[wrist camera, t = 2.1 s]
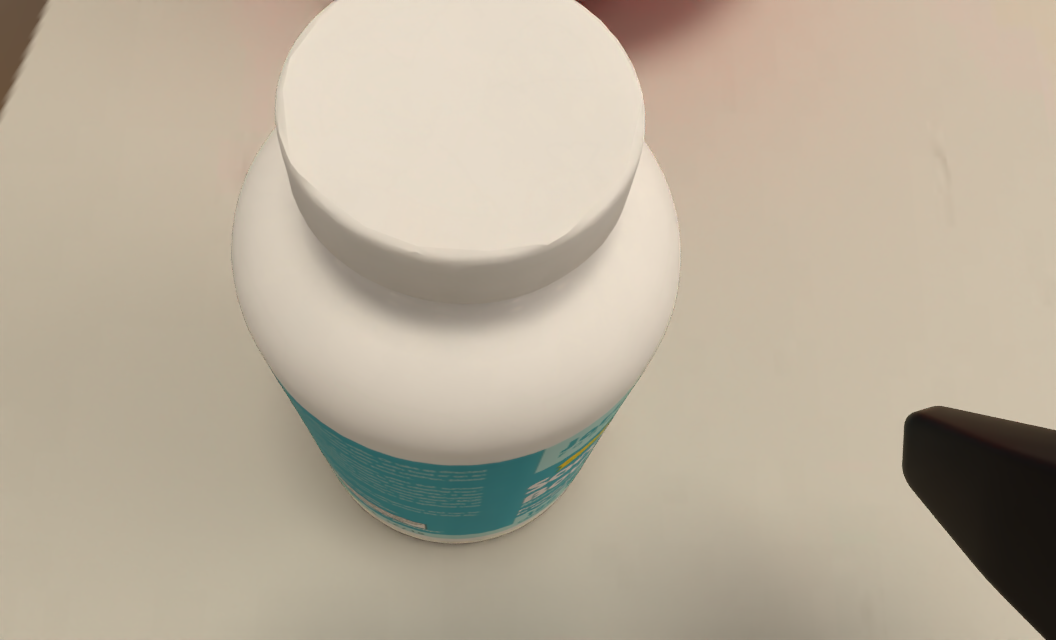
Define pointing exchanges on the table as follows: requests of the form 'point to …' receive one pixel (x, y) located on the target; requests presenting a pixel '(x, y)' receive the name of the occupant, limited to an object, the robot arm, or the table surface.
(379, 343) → the pill bottle
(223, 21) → the table surface
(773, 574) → the table surface
